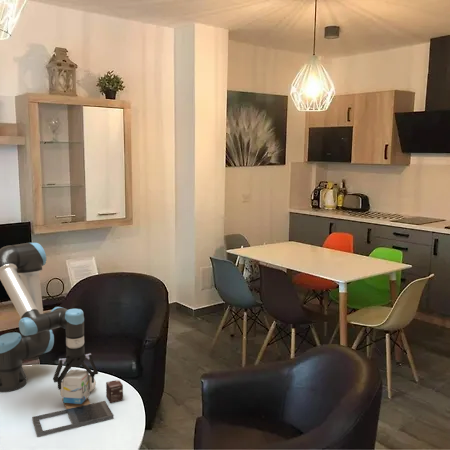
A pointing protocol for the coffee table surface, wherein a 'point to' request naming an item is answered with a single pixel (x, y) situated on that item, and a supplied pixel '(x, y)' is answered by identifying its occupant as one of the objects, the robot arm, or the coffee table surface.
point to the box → (114, 391)
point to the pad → (71, 405)
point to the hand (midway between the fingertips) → (76, 392)
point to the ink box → (76, 386)
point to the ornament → (93, 385)
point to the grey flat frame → (76, 417)
